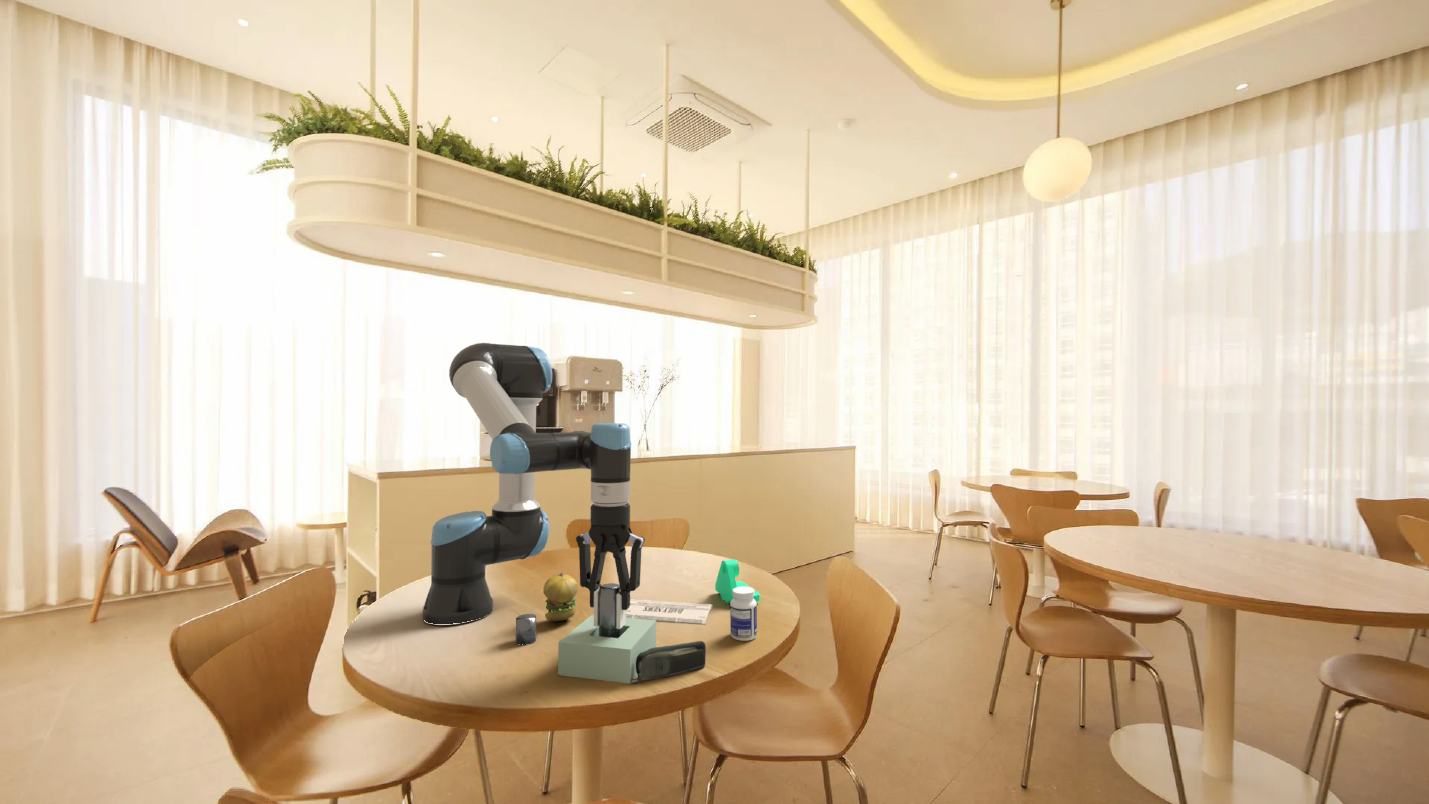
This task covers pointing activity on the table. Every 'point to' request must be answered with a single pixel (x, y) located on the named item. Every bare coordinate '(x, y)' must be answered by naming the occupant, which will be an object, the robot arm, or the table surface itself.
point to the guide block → (605, 651)
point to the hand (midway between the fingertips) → (609, 624)
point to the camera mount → (730, 581)
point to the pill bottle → (743, 614)
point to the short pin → (526, 629)
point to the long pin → (608, 610)
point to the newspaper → (668, 611)
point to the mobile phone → (670, 660)
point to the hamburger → (560, 597)
